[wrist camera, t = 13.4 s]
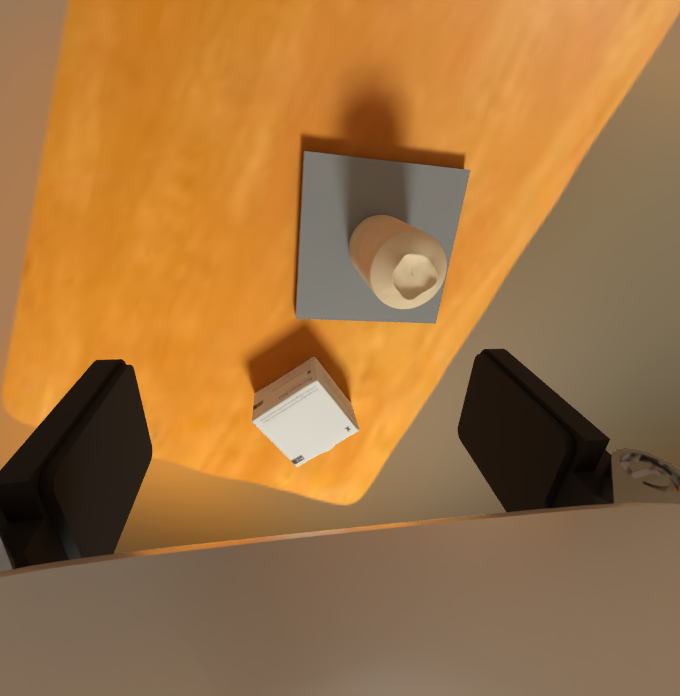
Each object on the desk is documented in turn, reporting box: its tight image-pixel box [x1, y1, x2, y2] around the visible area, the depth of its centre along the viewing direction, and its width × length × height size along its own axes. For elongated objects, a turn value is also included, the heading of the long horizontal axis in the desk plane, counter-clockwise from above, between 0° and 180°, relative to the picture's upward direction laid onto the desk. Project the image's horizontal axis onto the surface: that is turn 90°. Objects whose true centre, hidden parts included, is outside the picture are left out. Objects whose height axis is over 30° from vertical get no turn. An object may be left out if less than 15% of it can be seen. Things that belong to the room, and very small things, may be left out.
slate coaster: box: [295, 151, 470, 323], centre depth 34 cm, size 14×14×1 cm
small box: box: [252, 356, 359, 467], centre depth 39 cm, size 8×8×5 cm
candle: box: [349, 215, 447, 309], centre depth 29 cm, size 6×6×10 cm
